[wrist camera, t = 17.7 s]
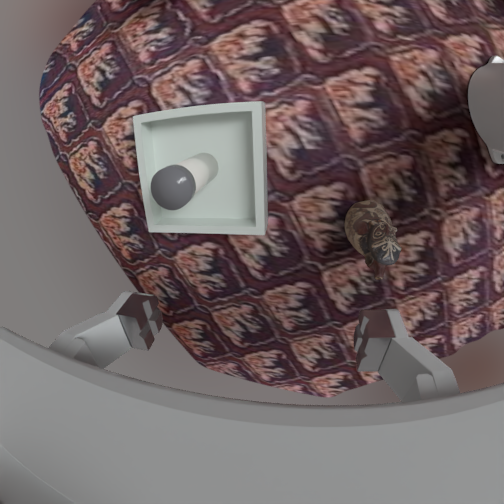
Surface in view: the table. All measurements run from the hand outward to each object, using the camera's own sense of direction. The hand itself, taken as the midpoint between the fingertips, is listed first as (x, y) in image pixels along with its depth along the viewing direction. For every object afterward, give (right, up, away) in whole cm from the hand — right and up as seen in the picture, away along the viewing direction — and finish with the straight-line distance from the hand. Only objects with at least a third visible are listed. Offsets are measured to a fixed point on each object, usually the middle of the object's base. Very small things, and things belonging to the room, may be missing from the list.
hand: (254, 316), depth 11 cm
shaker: (-7, +15, +28) cm, 32 cm away
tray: (-7, +15, +29) cm, 33 cm away
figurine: (+17, +7, +29) cm, 34 cm away
